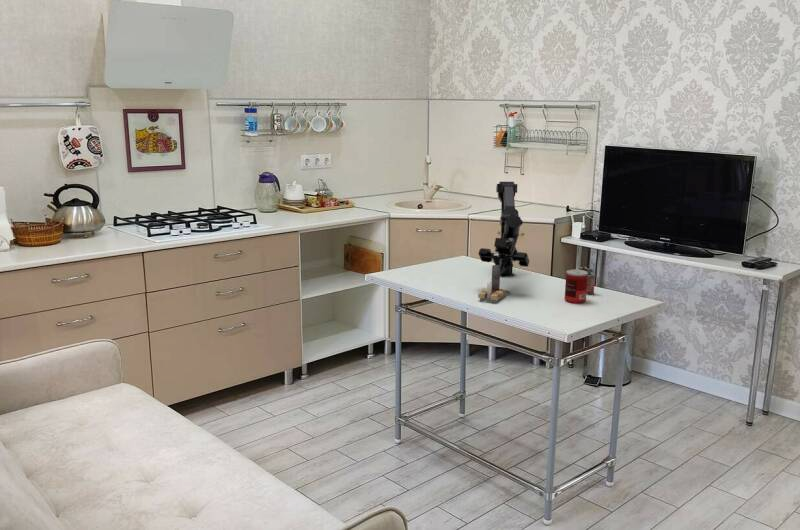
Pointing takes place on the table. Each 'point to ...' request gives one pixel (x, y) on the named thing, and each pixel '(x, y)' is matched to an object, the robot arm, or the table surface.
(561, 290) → the table surface
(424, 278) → the table surface
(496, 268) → the wooden base with post
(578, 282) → the canned food
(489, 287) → the rail
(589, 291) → the lighter
